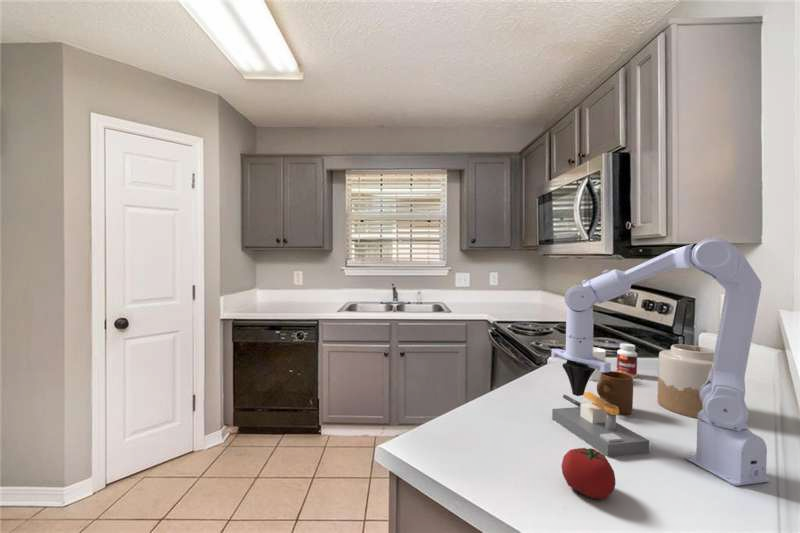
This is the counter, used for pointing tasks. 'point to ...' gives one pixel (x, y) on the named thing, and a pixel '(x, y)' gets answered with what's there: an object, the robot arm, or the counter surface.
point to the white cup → (598, 354)
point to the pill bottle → (627, 360)
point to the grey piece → (602, 433)
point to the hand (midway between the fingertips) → (578, 394)
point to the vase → (683, 378)
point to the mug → (617, 390)
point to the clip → (602, 403)
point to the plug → (589, 411)
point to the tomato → (588, 472)
